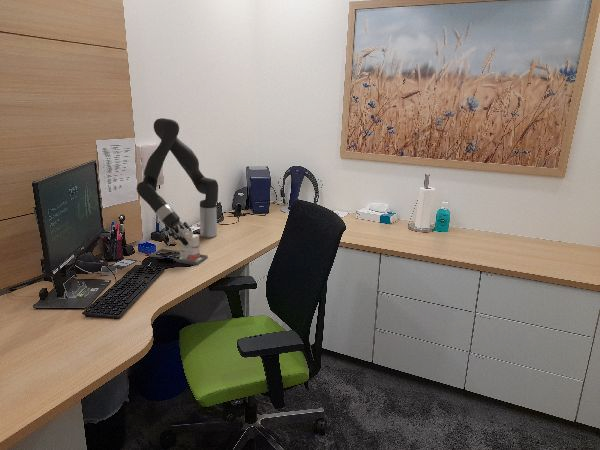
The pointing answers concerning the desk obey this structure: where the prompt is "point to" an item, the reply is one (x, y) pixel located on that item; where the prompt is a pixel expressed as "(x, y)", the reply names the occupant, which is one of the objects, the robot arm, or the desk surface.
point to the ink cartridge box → (190, 246)
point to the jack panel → (181, 260)
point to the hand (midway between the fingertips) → (190, 242)
